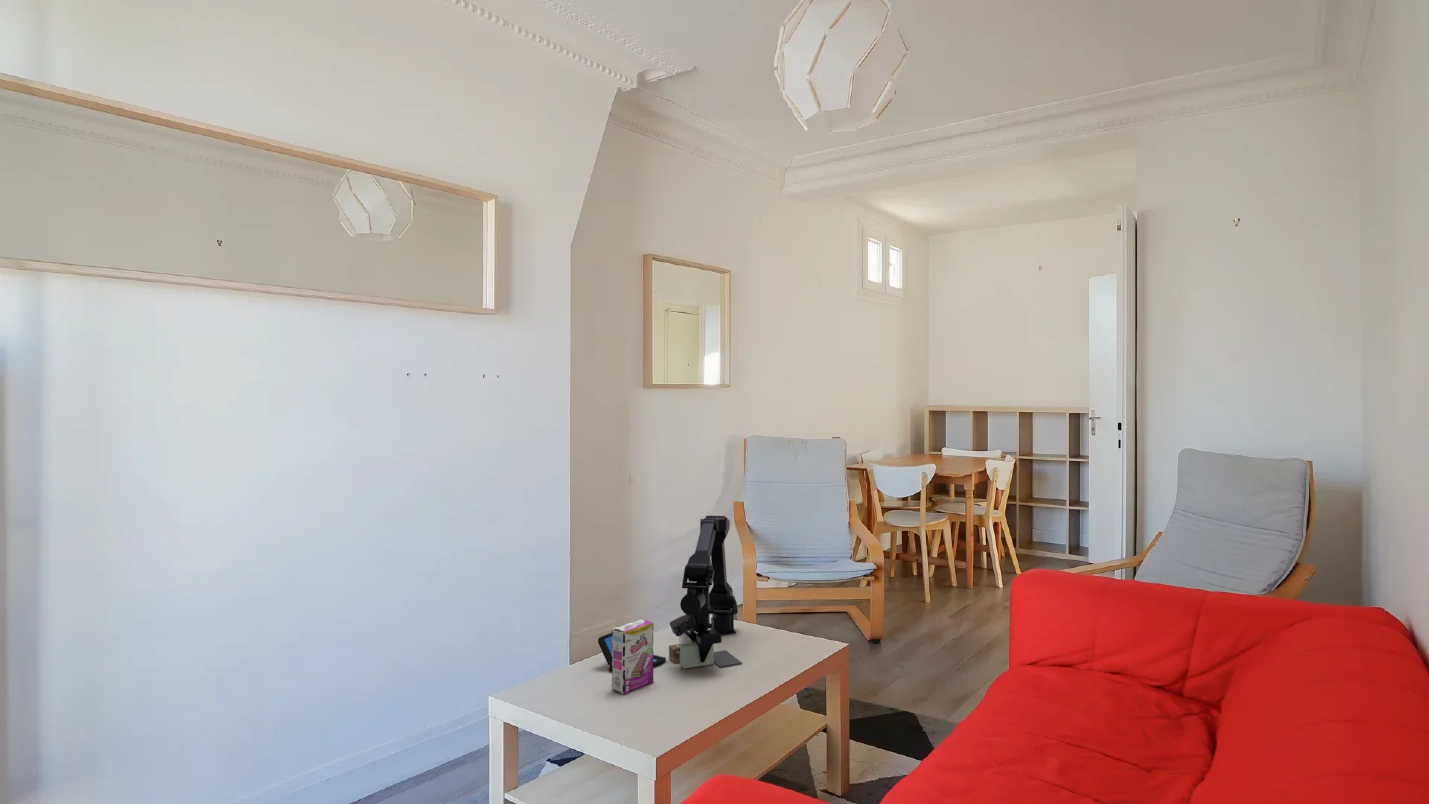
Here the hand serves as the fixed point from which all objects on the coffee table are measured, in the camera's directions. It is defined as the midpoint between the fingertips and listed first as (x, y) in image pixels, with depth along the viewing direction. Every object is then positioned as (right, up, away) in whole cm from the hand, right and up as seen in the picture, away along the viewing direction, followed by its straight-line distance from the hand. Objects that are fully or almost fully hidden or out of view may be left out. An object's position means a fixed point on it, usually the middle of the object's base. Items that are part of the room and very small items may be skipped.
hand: (700, 660), depth 217 cm
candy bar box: (-17, -2, -16) cm, 23 cm away
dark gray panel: (+6, -1, +4) cm, 8 cm away
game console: (-19, -2, +1) cm, 19 cm away
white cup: (-3, -2, +12) cm, 13 cm away
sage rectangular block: (-1, -1, 0) cm, 1 cm away
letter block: (-7, -2, +4) cm, 8 cm away
